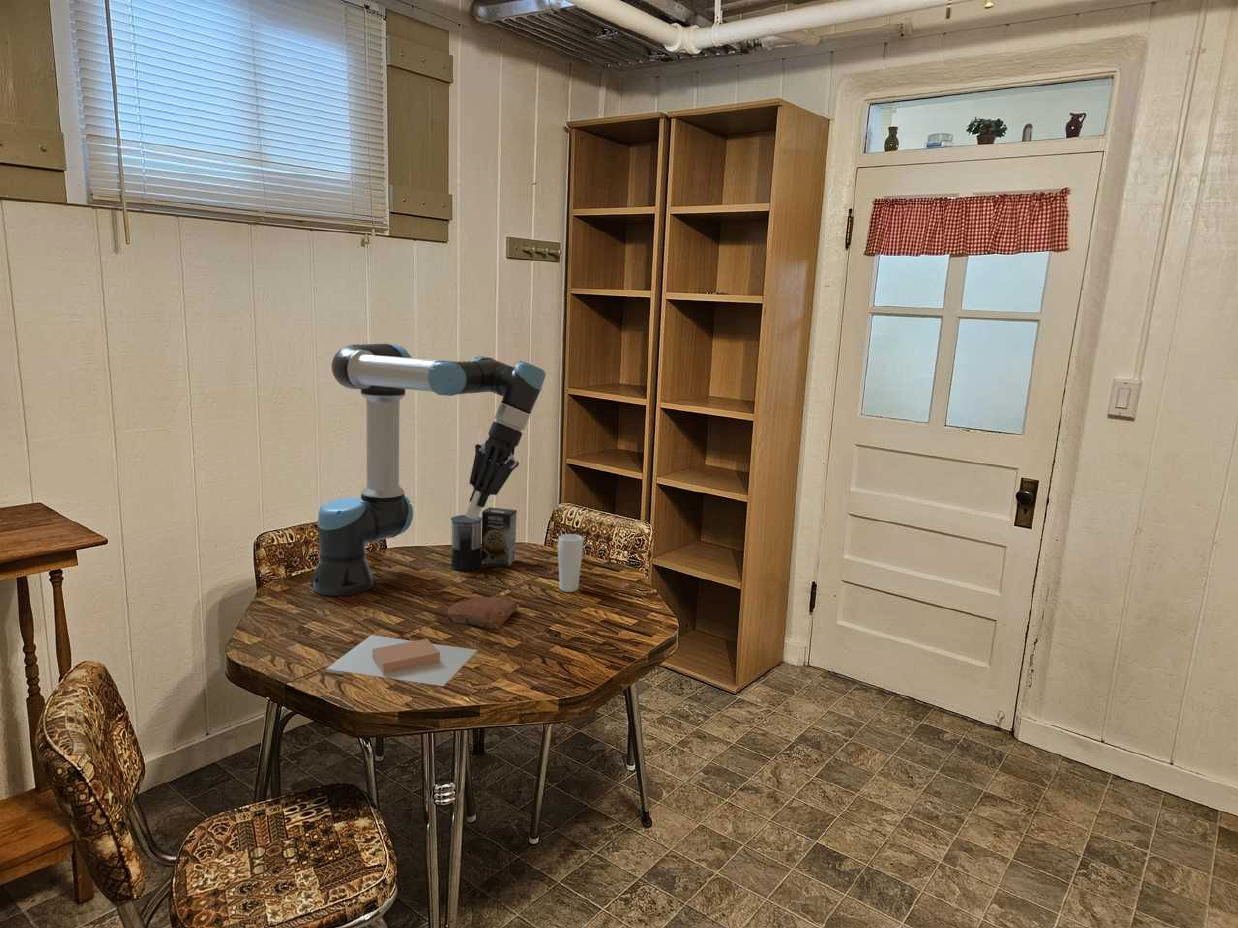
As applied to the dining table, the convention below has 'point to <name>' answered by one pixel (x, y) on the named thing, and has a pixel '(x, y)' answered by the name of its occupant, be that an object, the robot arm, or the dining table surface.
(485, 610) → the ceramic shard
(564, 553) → the drinking glass
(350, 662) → the grey mat
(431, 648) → the terracotta tile
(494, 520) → the dark cardboard box
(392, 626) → the dining table surface
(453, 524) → the milk frother
